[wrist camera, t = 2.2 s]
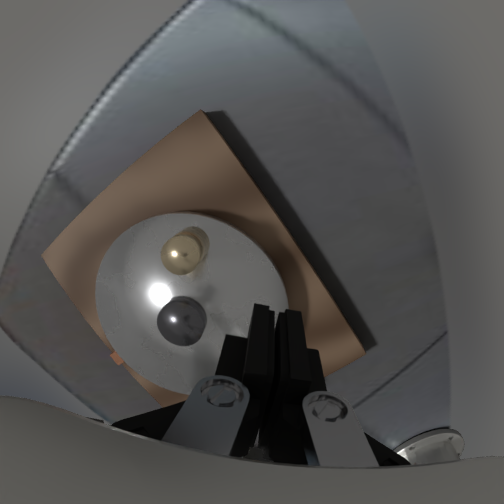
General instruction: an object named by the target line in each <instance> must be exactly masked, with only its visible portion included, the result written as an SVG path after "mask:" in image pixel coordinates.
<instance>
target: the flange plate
mask: <svg viewBox="0 0 504 504" xmlns="http://www.w3.org/2000/svg"><path fill="white" fill-rule="evenodd" d="M95 299H96V308H97V313H98V317H99V320H100V323H101V326H102V329H103V331H104V333H105V335H106V337H107V339H108V340H109V342H110V344H111V345H112V347H113V348H114V351H113V352H112V353H111V354H110V356H111V357H112V359H113V360H114V361H115V362H116V363H117V364H118V365H119V364H121V363H123V362H125V363H126V364H127V365H128V366H130V367H131V368H132V369H133V370H134V371H135V372H137V373H138V374H139V375H141V376H142V377H144V378H145V379H147V380H149V381H150V382H152V383H154V384H156V385H158V386H160V387H163V388H165V389H167V390H171V391H174V392H177V393H181V394H187V395H190V393H191V392H192V390H193V388H194V387H195V385H196V384H197V383H198V382H199V381H200V380H201V379H203V378H205V377H208V376H213V375H215V372H216V369H217V365H218V361H219V357H220V354H221V350H222V346H223V343H224V339H225V335H226V334H229V335H234V336H240V337H245V338H247V336H248V331H249V326H250V321H251V316H252V311H253V307H254V303H257V304H262V305H267V306H269V310H272V311H275V326H276V322H277V318H278V314H279V312H285V310H286V309H289V305H288V297H287V292H286V288H285V285H284V281H283V279H282V277H281V274H280V272H279V270H278V268H277V266H276V265H275V263H274V261H273V260H272V258H271V257H270V256H269V254H268V253H267V252H266V251H265V249H264V248H263V247H262V246H261V245H260V244H259V243H258V242H257V241H256V240H255V239H254V238H253V237H251V236H250V235H249V234H247V233H246V232H245V231H243V230H242V229H241V228H239V227H237V226H235V225H233V224H232V223H230V222H228V221H225V220H223V219H220V218H218V217H215V216H212V215H208V214H204V213H198V212H189V211H181V212H169V213H164V214H159V215H156V216H153V217H150V218H148V219H145V220H143V221H141V222H139V223H137V224H135V225H133V226H132V227H130V228H129V229H127V230H126V231H125V232H123V233H122V234H121V235H120V236H119V237H118V238H117V239H116V240H115V241H114V242H113V243H112V245H111V246H110V247H109V249H108V250H107V252H106V254H105V255H104V257H103V259H102V261H101V264H100V267H99V270H98V274H97V279H96V287H95Z"/></svg>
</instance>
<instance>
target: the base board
mask: <svg viewBox="0 0 504 504" xmlns="http://www.w3.org/2000/svg"><path fill="white" fill-rule="evenodd" d="M181 211H189V212H198V213H204V214H208V215H212V216H215V217H218V218H220V219H223V220H225V221H228V222H230V223H232V224H233V225H235V226H237V227H239V228H241V229H242V230H243V231H245V232H246V233H247V234H249V235H250V236H251V237H253V238H254V239H255V240H256V241H257V242H258V243H259V244H260V245H261V246H262V247H263V248H264V249H265V251H266V252H267V253H268V254H269V256H270V257H271V258H272V260H273V261H274V263H275V265H276V266H277V268H278V270H279V272H280V274H281V277H282V279H283V281H284V285H285V288H286V292H287V297H288V305H289V309H290V310H296V311H301V313H302V319H303V325H304V331H305V338H306V344H307V348H311V349H317V350H318V351H319V354H320V359H321V364H322V369H323V374H324V377H326V376H328V375H329V374H331V373H333V372H335V371H337V370H339V369H341V368H342V367H344V366H346V365H348V364H350V363H351V362H353V361H355V360H357V359H358V358H360V357H362V356H364V355H365V354H366V352H365V350H364V347H363V345H362V343H361V342H360V340H359V339H358V337H357V335H356V334H355V332H354V331H353V329H352V327H351V326H350V324H349V323H348V321H347V319H346V318H345V316H344V315H343V313H342V311H341V310H340V308H339V307H338V305H337V304H336V302H335V300H334V299H333V297H332V296H331V294H330V293H329V291H328V290H327V288H326V286H325V285H324V283H323V282H322V280H321V279H320V277H319V276H318V274H317V273H316V271H315V270H314V268H313V266H312V265H311V263H310V262H309V260H308V259H307V257H306V256H305V254H304V253H303V251H302V250H301V248H300V247H299V245H298V244H297V242H296V241H295V239H294V238H293V236H292V235H291V233H290V232H289V230H288V229H287V227H286V226H285V225H284V223H283V222H282V220H281V219H280V217H279V216H278V214H277V213H276V211H275V210H274V208H273V207H272V206H271V204H270V203H269V201H268V200H267V198H266V197H265V195H264V194H263V192H262V191H261V190H260V188H259V187H258V185H257V184H256V182H255V181H254V180H253V178H252V177H251V175H250V174H249V173H248V171H247V170H246V168H245V167H244V165H243V164H242V163H241V161H240V160H239V158H238V157H237V156H236V154H235V153H234V151H233V150H232V149H231V147H230V146H229V145H228V143H227V142H226V140H225V139H224V138H223V136H222V135H221V133H220V132H219V131H218V129H217V128H216V127H215V125H214V124H213V123H212V121H211V120H210V118H209V117H208V116H207V114H206V113H205V112H204V111H202V110H199V111H198V112H196V113H195V114H194V115H192V116H191V117H190V118H188V119H187V120H186V121H185V122H183V123H182V124H181V125H179V126H178V127H177V128H175V129H174V130H173V131H172V132H170V133H169V134H168V135H167V136H165V137H164V138H163V139H162V140H160V141H159V142H158V143H157V144H156V145H154V146H153V147H152V148H151V149H150V150H148V151H147V152H146V153H145V154H144V155H142V156H141V157H140V158H139V159H138V160H137V161H135V162H134V163H133V164H132V165H131V166H130V167H129V168H127V169H126V170H125V171H124V172H123V173H122V174H121V175H120V176H119V177H117V178H116V179H115V180H114V181H113V182H112V183H111V184H110V185H109V186H108V187H107V188H106V189H105V190H103V191H102V192H101V193H100V194H99V195H98V196H97V197H96V198H95V199H94V200H93V201H92V202H91V203H90V204H89V205H88V206H87V207H86V208H85V209H84V210H83V211H82V212H81V213H80V214H79V215H78V216H77V217H76V218H75V219H74V220H73V221H72V222H71V223H70V224H69V225H68V226H67V227H66V228H65V229H64V231H63V232H62V233H61V234H60V235H59V236H58V237H57V238H56V239H55V240H54V241H53V242H52V244H51V245H50V246H49V247H48V248H47V249H46V250H45V251H44V252H43V254H42V255H41V256H42V258H43V259H44V261H45V262H46V264H47V265H48V267H49V268H50V270H51V271H52V273H53V275H54V276H55V277H56V279H57V280H58V282H59V283H60V285H61V286H62V288H63V289H64V291H65V292H66V293H67V295H68V296H69V298H70V299H71V300H72V302H73V303H74V305H75V306H76V307H77V309H78V310H79V311H80V313H81V314H82V315H83V317H84V318H85V319H86V321H87V322H88V323H89V324H90V326H91V327H92V328H93V330H94V331H95V332H96V333H97V335H98V336H99V337H100V338H101V340H102V341H103V342H104V343H105V344H106V346H107V347H108V348H109V349H110V350H111V352H113V351H114V348H113V347H112V345H111V344H110V342H109V340H108V339H107V337H106V335H105V333H104V331H103V329H102V326H101V323H100V320H99V317H98V313H97V308H96V299H95V287H96V279H97V274H98V270H99V267H100V264H101V261H102V259H103V257H104V255H105V254H106V252H107V250H108V249H109V247H110V246H111V245H112V243H113V242H114V241H115V240H116V239H117V238H118V237H119V236H120V235H121V234H122V233H123V232H125V231H126V230H127V229H129V228H130V227H132V226H133V225H135V224H137V223H139V222H141V221H143V220H145V219H148V218H150V217H153V216H156V215H159V214H164V213H169V212H181ZM122 364H123V366H124V367H125V368H126V369H127V370H128V371H129V372H130V373H131V374H132V376H133V377H134V378H135V379H136V380H137V381H138V382H139V383H140V384H141V385H142V386H143V387H144V389H145V390H146V391H147V392H148V393H149V394H150V395H151V396H152V397H153V398H154V399H155V400H156V401H157V402H158V403H159V404H160V405H161V406H162V407H163V408H164V407H167V406H170V405H173V404H176V403H179V402H182V401H185V400H187V398H188V397H189V395H187V394H181V393H177V392H174V391H171V390H167V389H165V388H163V387H160V386H158V385H156V384H154V383H152V382H150V381H149V380H147V379H145V378H144V377H142V376H141V375H139V374H138V373H137V372H135V371H134V370H133V369H132V368H131V367H130V366H128V365H127V364H126V363H125V362H123V363H122Z"/></svg>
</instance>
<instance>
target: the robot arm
mask: <svg viewBox="0 0 504 504" xmlns="http://www.w3.org/2000/svg"><path fill="white" fill-rule="evenodd" d="M258 430H259V440H258V448H261V449H264V459H271V460H272V461H274V462H268V461H260V460H253V459H246V458H241V457H243V456H245V455H247V453H248V450H249V447H253V446H254V443H255V440H256V437H257V434H258ZM463 449H464V440H463V438H462V436H461V434H460V433H459V432H458V431H456V430H453V429H438V430H433V431H430V432H426V433H423V434H421V435H418V436H416V437H414V438H412V439H410V440H408V441H406V442H405V443H403V444H402V445H400V446H398V447H397V448H396V449H394V450H391V449H389V448H388V447H386V446H385V445H383V444H381V443H380V442H378V441H377V440H375V439H374V438H372V437H370V436H369V435H367V434H366V433H364V432H363V430H362V427H361V425H360V423H359V421H358V419H357V417H356V415H355V412H354V410H353V408H352V406H351V405H350V403H349V402H348V401H347V400H346V399H344V398H343V397H341V396H340V395H338V394H335V393H332V392H328V391H327V390H326V384H325V379H324V374H323V369H322V364H321V359H320V354H319V351H318V350H317V349H311V348H307V344H306V338H305V331H304V325H303V319H302V313H301V311H296V310H290V309H286V310H285V312H279V314H278V318H277V322H276V326H275V311H272V310H269V306H267V305H262V304H257V303H254V307H253V311H252V316H251V321H250V326H249V331H248V336H247V338H245V337H240V336H234V335H229V334H226V335H225V339H224V343H223V346H222V350H221V354H220V357H219V361H218V365H217V369H216V372H215V375H213V376H208V377H205V378H203V379H201V380H200V381H199V382H198V383H197V384H196V385H195V387H194V388H193V390H192V392H191V393H190V395H189V397H188V398H187V400H185V401H182V402H179V403H176V404H173V405H170V406H167V407H164V408H160V409H157V410H154V411H151V412H147V413H144V414H140V415H137V416H134V417H130V418H126V419H123V420H120V421H118V422H115V423H113V424H112V425H107V424H104V422H103V420H99V419H94V418H88V417H83V416H81V415H78V414H75V413H73V412H70V411H67V410H64V409H61V408H58V407H55V406H52V405H49V404H45V403H42V402H37V401H34V400H30V399H26V398H19V397H12V396H2V395H0V504H504V457H495V456H490V457H477V458H470V459H462V460H460V458H459V457H460V456H461V454H462V451H463Z"/></svg>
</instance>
